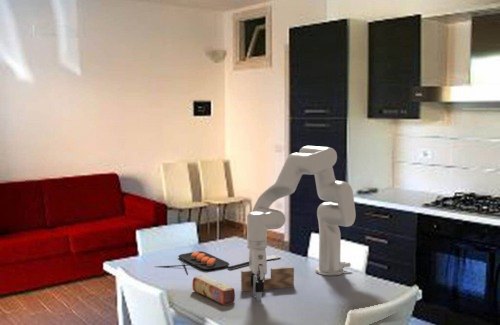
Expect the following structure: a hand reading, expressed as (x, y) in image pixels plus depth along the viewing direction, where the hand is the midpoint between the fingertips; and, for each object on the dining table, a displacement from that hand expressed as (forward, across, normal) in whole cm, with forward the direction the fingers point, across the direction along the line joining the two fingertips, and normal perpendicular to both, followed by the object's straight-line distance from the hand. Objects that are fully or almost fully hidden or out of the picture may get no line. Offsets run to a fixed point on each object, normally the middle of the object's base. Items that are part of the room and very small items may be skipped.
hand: (257, 288), depth 206 cm
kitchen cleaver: (+4, +47, -10) cm, 48 cm away
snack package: (+4, +5, +16) cm, 18 cm away
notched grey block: (+4, 0, 0) cm, 4 cm away
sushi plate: (+4, +50, +20) cm, 54 cm away
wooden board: (+4, +10, -7) cm, 12 cm away
